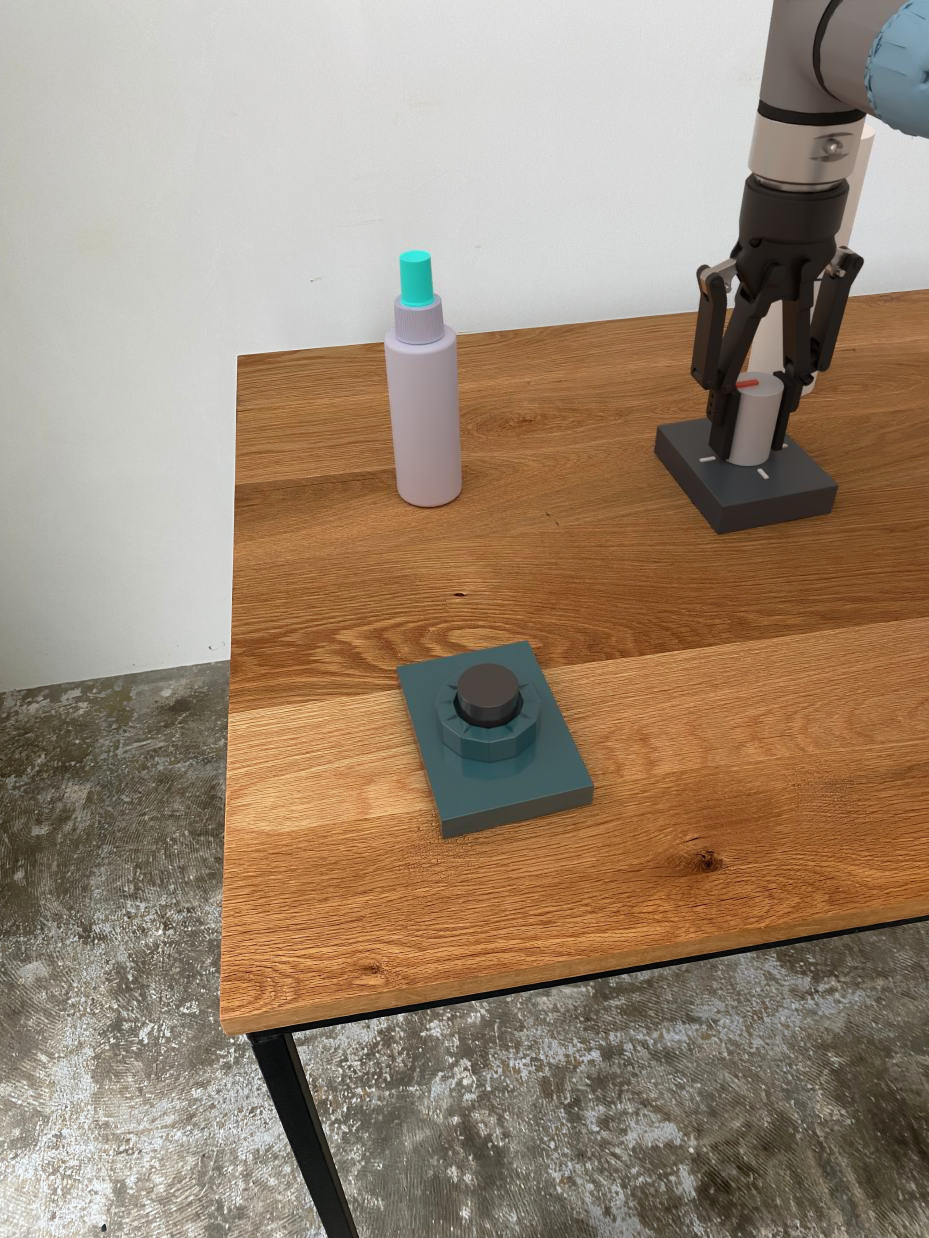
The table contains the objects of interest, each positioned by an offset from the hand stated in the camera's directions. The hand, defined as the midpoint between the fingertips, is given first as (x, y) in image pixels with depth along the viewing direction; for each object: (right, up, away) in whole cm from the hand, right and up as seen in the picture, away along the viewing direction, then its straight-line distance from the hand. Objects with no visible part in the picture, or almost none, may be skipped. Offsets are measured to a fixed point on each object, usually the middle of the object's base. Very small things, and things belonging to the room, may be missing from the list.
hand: (744, 447), depth 85 cm
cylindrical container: (+9, +10, +16) cm, 21 cm away
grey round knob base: (-24, -24, -20) cm, 39 cm away
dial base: (0, -3, +2) cm, 4 cm away
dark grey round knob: (-24, -21, -23) cm, 39 cm away
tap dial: (0, -1, 0) cm, 1 cm away
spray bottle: (-29, -4, +3) cm, 29 cm away
